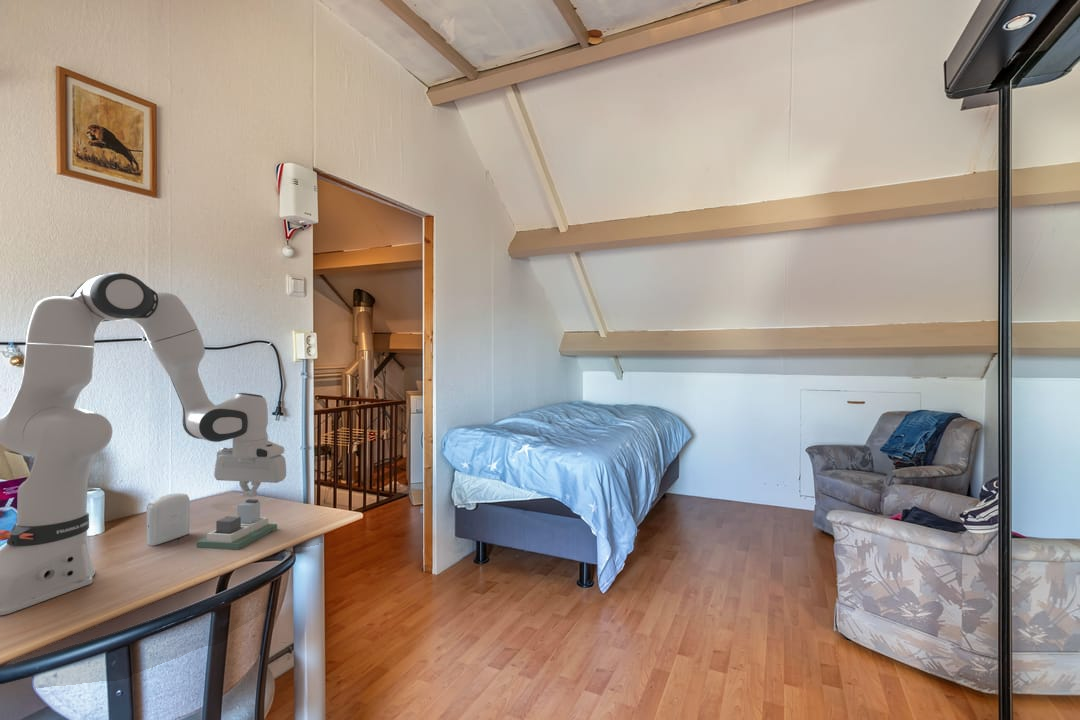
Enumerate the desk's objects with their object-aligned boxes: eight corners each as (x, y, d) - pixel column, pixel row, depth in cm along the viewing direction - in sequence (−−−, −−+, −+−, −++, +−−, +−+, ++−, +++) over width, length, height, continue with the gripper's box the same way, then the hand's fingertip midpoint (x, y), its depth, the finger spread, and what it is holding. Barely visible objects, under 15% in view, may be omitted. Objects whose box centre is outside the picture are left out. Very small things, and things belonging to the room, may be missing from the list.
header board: (238, 549, 129) (238, 524, 129) (196, 547, 131) (196, 522, 131) (277, 529, 145) (277, 507, 145) (239, 526, 147) (239, 505, 147)
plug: (250, 530, 140) (250, 503, 140) (237, 529, 140) (237, 502, 140) (259, 525, 144) (260, 499, 144) (247, 524, 144) (247, 498, 144)
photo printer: (154, 547, 130) (155, 500, 130) (143, 545, 132) (143, 498, 132) (192, 534, 140) (192, 490, 140) (181, 532, 142) (182, 489, 142)
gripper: (208, 449, 140) (208, 497, 140) (275, 451, 138) (275, 501, 138) (225, 445, 146) (224, 491, 146) (289, 447, 144) (289, 494, 144)
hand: (250, 496), depth 142 cm, fingers closed
